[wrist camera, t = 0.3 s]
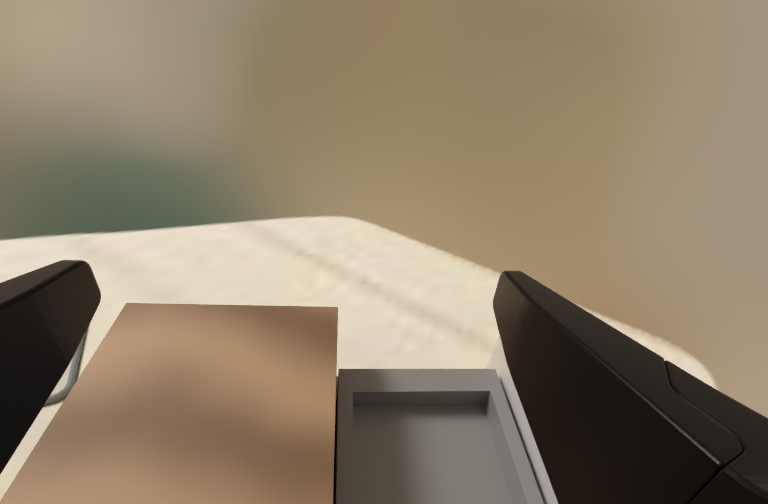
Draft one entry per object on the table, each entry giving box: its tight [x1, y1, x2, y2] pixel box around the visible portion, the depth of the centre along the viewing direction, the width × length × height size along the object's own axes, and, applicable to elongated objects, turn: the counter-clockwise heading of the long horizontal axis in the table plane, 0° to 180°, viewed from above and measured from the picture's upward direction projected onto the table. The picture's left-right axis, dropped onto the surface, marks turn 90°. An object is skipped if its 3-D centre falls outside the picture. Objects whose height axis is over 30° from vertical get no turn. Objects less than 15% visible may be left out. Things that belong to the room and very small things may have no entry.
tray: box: [335, 337, 558, 504], centre depth 18 cm, size 15×11×6 cm
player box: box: [0, 303, 338, 504], centre depth 17 cm, size 15×11×6 cm
